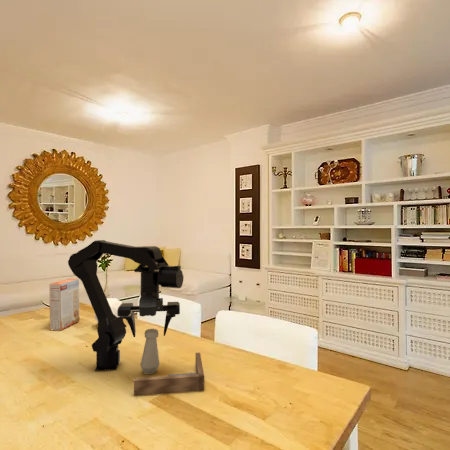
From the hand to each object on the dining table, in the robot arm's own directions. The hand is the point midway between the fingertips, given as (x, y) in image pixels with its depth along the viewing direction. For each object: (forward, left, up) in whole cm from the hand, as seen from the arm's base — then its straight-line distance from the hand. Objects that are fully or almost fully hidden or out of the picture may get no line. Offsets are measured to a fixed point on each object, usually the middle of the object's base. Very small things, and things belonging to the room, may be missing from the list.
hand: (149, 336), depth 100 cm
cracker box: (-43, +54, -11) cm, 70 cm away
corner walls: (+7, -6, -11) cm, 14 cm away
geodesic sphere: (-22, +50, -11) cm, 56 cm away
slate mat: (+10, -8, -11) cm, 17 cm away
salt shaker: (0, 0, -11) cm, 11 cm away
